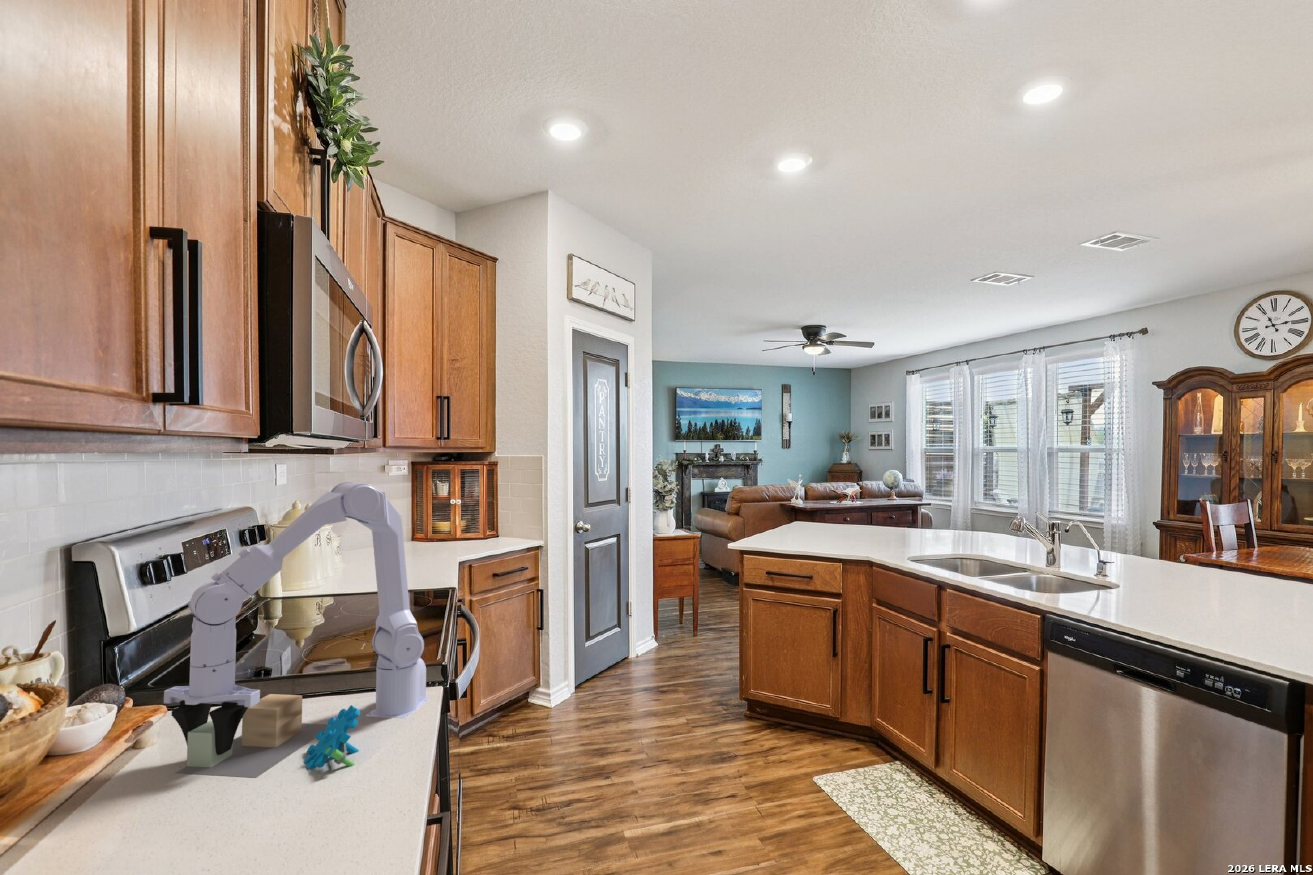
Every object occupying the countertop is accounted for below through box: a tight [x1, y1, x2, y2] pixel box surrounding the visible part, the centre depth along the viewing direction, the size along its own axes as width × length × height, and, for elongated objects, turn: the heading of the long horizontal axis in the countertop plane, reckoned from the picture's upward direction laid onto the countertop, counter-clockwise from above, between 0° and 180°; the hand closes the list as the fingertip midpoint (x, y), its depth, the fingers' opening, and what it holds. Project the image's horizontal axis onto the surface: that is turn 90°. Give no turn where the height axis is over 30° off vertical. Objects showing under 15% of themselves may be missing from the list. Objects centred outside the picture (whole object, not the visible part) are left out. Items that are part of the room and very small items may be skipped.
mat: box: [174, 722, 327, 779], centre depth 97 cm, size 18×13×1 cm
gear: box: [303, 704, 361, 770], centre depth 94 cm, size 11×6×10 cm
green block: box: [186, 720, 233, 767], centre depth 93 cm, size 4×4×5 cm
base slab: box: [241, 713, 303, 747], centre depth 101 cm, size 6×6×3 cm
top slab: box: [241, 693, 303, 728], centre depth 101 cm, size 6×6×3 cm
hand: (210, 750), depth 93 cm, fingers closed on green block, 4 cm apart
